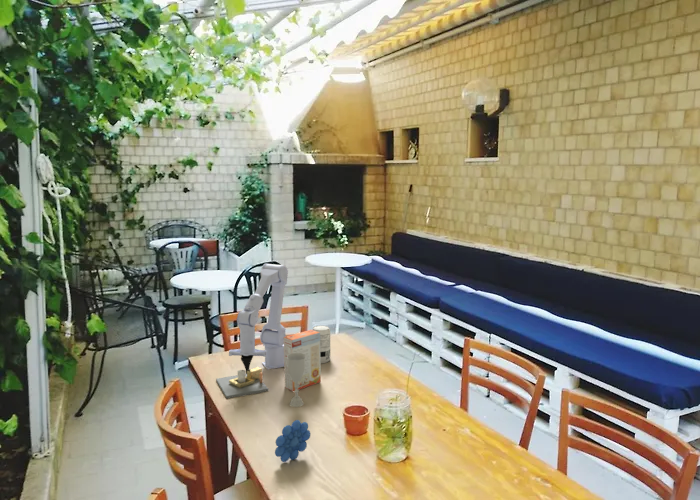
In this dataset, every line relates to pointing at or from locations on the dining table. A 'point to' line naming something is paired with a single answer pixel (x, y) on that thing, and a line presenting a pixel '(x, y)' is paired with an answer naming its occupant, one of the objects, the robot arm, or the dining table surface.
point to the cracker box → (311, 348)
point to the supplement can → (324, 342)
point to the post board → (235, 391)
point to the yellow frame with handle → (250, 378)
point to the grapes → (292, 441)
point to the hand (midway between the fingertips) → (247, 372)
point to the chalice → (296, 374)
